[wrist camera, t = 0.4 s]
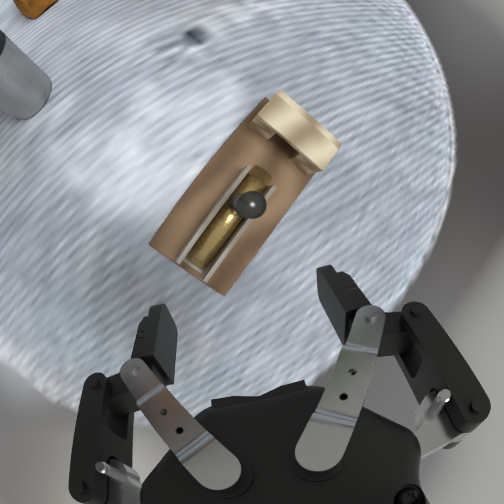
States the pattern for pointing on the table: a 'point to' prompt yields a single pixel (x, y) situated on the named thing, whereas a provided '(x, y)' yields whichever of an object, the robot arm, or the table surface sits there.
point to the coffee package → (32, 7)
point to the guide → (231, 175)
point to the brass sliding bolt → (232, 216)
